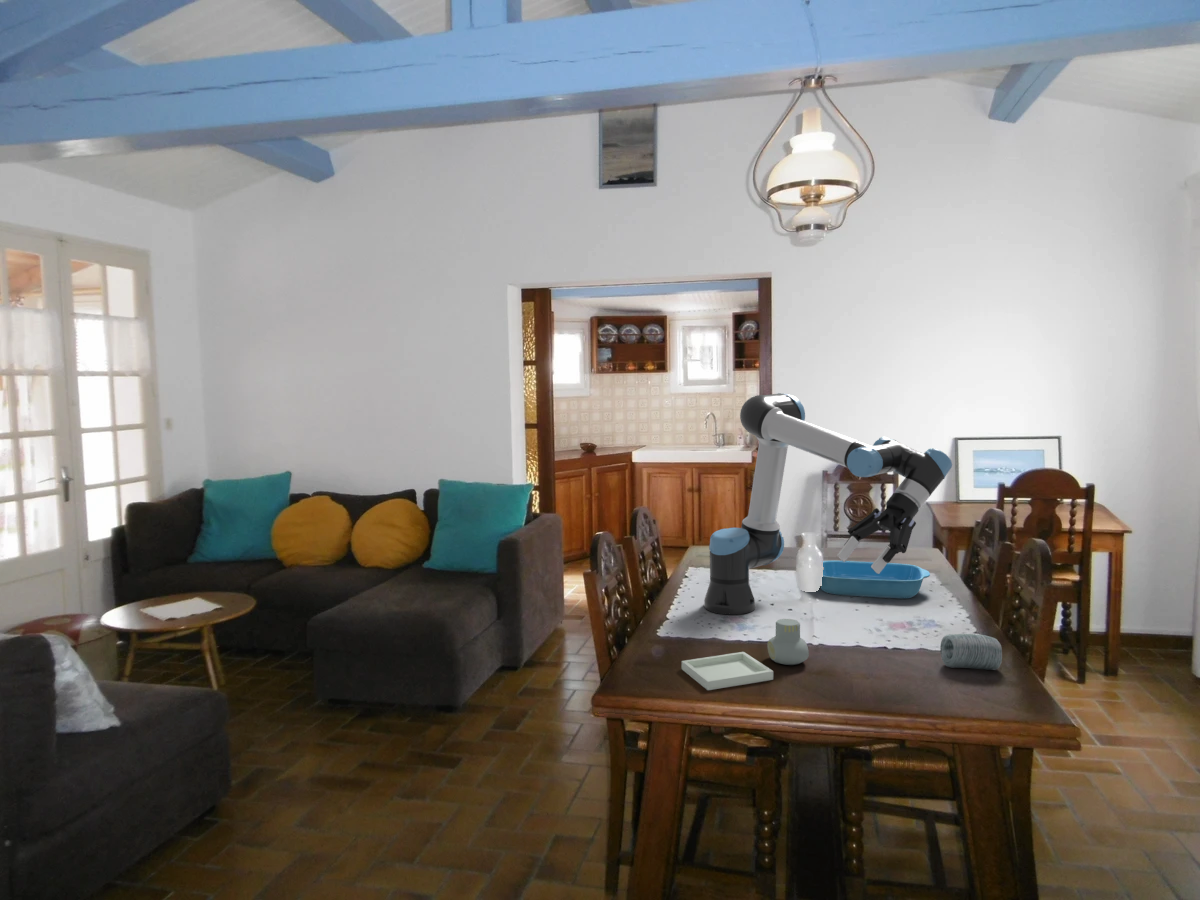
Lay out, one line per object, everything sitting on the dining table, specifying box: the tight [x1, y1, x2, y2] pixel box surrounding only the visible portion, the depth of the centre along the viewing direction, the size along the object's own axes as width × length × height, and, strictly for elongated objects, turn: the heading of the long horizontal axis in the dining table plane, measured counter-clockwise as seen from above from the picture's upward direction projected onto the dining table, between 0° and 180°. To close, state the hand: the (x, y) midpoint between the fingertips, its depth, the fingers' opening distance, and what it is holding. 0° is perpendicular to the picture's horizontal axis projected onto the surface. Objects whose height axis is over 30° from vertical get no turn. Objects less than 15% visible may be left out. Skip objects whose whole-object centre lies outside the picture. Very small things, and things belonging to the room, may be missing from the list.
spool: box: [940, 633, 1003, 671], centre depth 197 cm, size 14×10×10 cm
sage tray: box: [681, 651, 774, 691], centre depth 196 cm, size 14×17×2 cm
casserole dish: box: [820, 559, 931, 600], centre depth 265 cm, size 37×22×7 cm, turn 72°
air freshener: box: [766, 618, 810, 666], centre depth 204 cm, size 11×8×10 cm
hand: (857, 564), depth 208 cm, fingers open, 13 cm apart
